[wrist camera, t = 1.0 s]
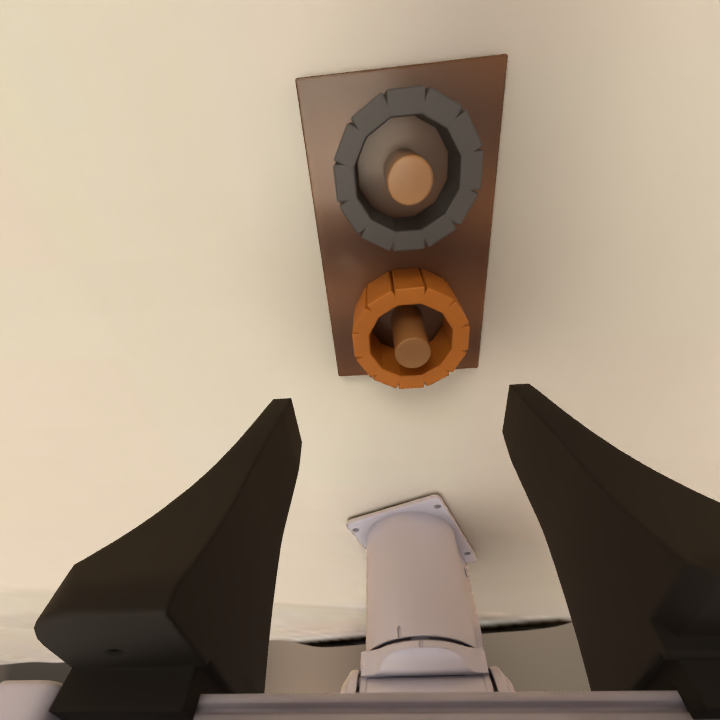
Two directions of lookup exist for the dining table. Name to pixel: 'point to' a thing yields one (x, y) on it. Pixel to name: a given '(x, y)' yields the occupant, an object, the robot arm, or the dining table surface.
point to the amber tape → (406, 291)
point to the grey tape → (460, 175)
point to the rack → (402, 198)
